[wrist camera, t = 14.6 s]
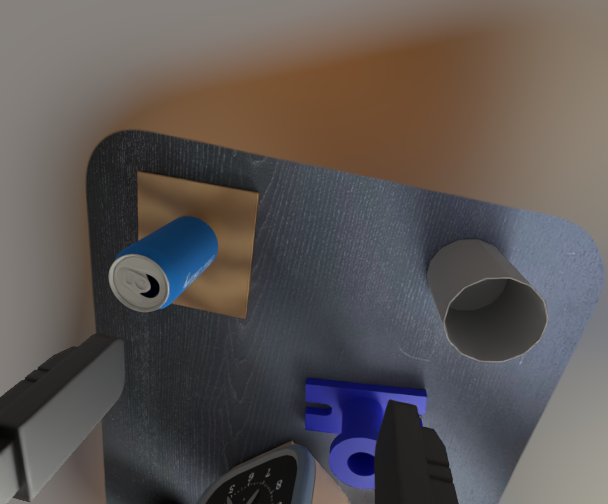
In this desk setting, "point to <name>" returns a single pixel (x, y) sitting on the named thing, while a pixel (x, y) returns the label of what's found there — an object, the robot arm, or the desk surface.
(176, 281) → the beverage can
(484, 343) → the cup
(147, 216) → the cork mat
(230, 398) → the desk surface
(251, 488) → the alarm clock
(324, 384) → the mount
